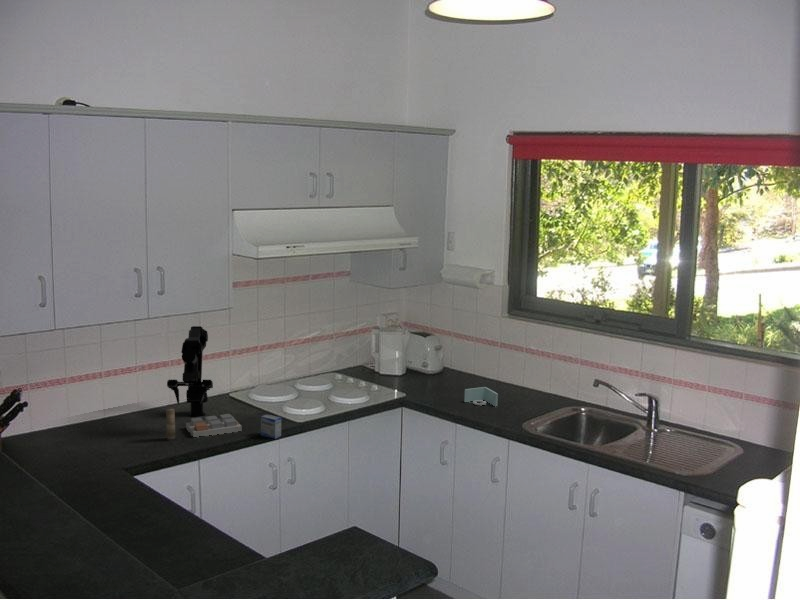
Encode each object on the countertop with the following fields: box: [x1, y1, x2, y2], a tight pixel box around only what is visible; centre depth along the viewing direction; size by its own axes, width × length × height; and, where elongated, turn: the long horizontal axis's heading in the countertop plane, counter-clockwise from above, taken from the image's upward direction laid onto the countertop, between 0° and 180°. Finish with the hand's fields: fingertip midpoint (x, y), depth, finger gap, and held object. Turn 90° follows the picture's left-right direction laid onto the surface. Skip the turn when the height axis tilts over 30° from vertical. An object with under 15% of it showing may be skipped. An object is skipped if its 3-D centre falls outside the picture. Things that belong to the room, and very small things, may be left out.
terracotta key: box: [194, 422, 207, 431], centre depth 356 cm, size 4×4×3 cm
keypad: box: [185, 413, 243, 438], centre depth 362 cm, size 13×21×5 cm, turn 118°
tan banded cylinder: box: [165, 408, 176, 441], centre depth 348 cm, size 4×4×13 cm
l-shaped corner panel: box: [463, 386, 499, 408], centre depth 409 cm, size 12×12×8 cm
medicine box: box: [260, 414, 282, 440], centre depth 357 cm, size 8×4×9 cm, turn 62°
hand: (189, 403), depth 354 cm, fingers open, 9 cm apart
